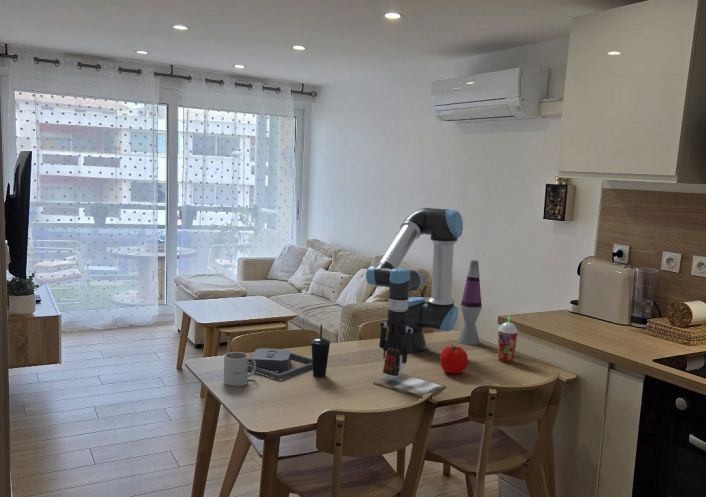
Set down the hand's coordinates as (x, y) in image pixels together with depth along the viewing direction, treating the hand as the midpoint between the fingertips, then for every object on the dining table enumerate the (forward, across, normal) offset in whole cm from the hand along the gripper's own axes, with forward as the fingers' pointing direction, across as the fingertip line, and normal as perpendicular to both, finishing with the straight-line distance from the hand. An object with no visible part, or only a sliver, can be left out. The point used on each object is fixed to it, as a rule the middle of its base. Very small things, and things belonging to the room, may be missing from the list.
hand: (394, 368), depth 220 cm
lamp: (+5, -2, +72) cm, 72 cm away
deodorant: (+2, 0, -3) cm, 3 cm away
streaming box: (+5, -45, -20) cm, 50 cm away
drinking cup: (+5, -24, -15) cm, 29 cm away
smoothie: (+5, +22, +56) cm, 61 cm away
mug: (+5, -42, -40) cm, 58 cm away
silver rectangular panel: (+5, +7, 0) cm, 8 cm away
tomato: (+5, +12, +25) cm, 28 cm away
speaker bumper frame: (+5, -44, -18) cm, 47 cm away
